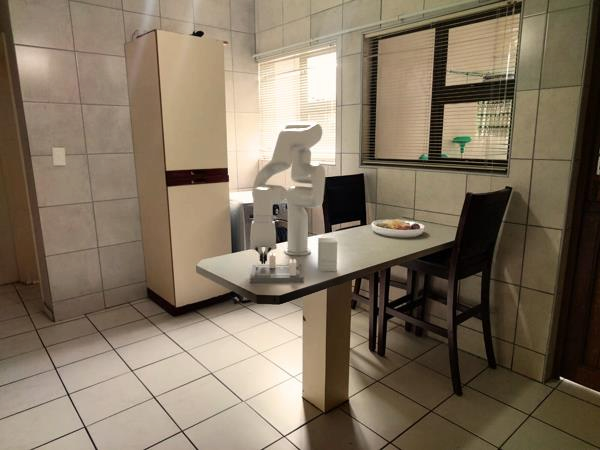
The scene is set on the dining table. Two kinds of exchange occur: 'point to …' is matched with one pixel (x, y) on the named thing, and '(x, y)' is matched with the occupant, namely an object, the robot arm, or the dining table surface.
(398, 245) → the dining table surface
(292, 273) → the block
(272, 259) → the block
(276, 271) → the console
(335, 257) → the supplement box
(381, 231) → the bowl
